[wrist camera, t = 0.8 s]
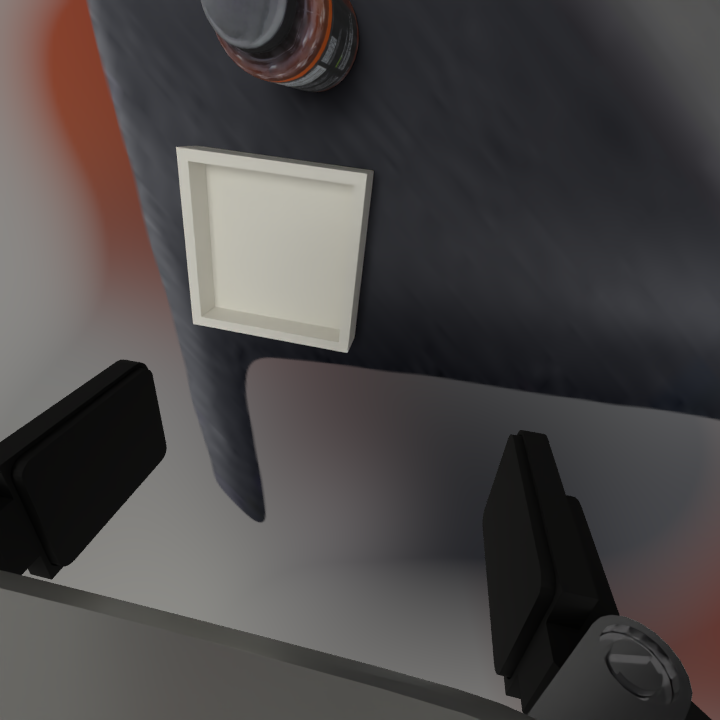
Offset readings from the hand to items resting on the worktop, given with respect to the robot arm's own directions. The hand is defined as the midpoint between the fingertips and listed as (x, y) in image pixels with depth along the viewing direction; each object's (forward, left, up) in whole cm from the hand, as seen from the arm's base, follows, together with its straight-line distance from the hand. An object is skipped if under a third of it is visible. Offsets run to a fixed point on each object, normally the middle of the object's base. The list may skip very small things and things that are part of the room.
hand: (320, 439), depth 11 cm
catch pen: (+2, -10, -25) cm, 26 cm away
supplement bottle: (-12, -8, -25) cm, 28 cm away
